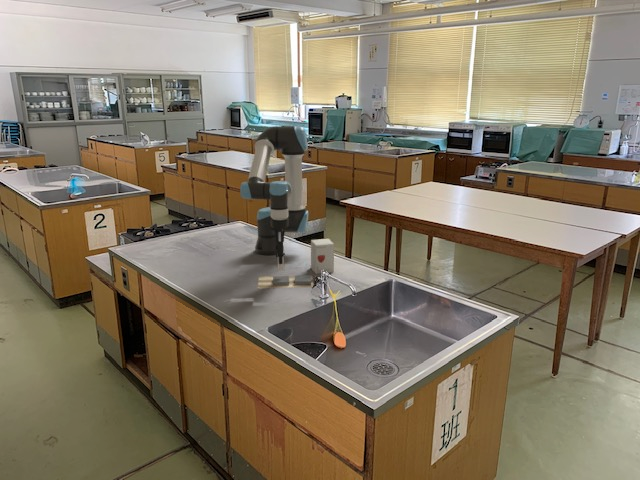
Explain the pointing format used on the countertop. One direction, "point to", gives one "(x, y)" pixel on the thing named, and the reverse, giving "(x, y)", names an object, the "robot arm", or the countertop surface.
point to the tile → (280, 280)
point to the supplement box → (322, 255)
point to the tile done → (303, 280)
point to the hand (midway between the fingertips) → (280, 269)
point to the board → (268, 283)
